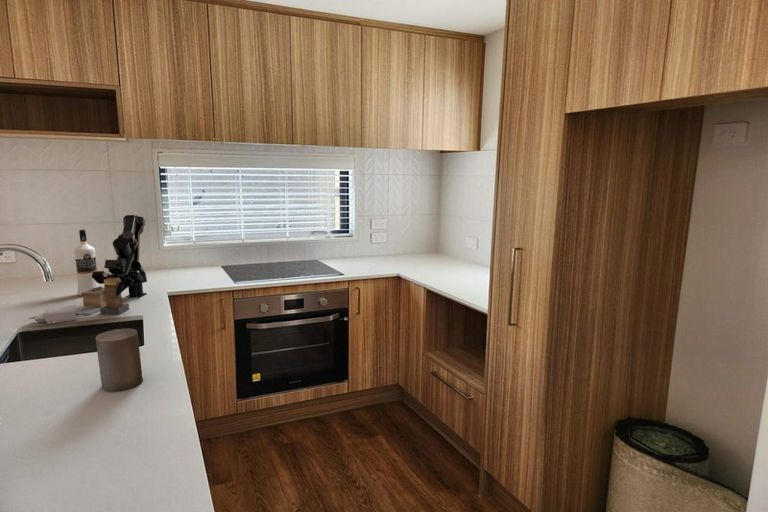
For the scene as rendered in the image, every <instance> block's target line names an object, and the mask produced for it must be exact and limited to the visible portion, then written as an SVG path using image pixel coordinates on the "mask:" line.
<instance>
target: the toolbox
mask: <svg viewBox="0 0 768 512" xmlns="http://www.w3.org/2000/svg"><path fill="white" fill-rule="evenodd" d="M80 297H82V302H83V308H102V307H105V306H107V305H106V295H105V287H103V286H100V285H99V287H96V288H93V289H90V290H88V291H85V292H82V293H81V296H80Z"/></svg>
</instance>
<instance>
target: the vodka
mask: <svg viewBox="0 0 768 512" xmlns="http://www.w3.org/2000/svg"><path fill="white" fill-rule="evenodd" d="M78 233H79V234H78V235H79V241H80V242H79V245H78V246H77V247H75V248H74V249H73V254H74V259H75V261H74V262H75V268H76V278H77V291H76V292H77V295H78V296H79V297H82V296H81V293H82V292H85V291H88V290H90V289H93V288H96V287H99V286H100V284H99V283H97V282H96V281H95V280H94V279H93V278H92V277H91V276H92V273H93V272H94V271H98V268H97V259H96V249H95V247H94V246H92V245H90V244H88V241H87V234H86V229H79V230H78Z"/></svg>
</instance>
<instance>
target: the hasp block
mask: <svg viewBox="0 0 768 512" xmlns="http://www.w3.org/2000/svg"><path fill="white" fill-rule="evenodd" d="M129 305H130V304H129V303H122V306H120V307H118V308H107V306H105V307H102V308H100V311H99V312H100V315H102V316H103V315H104V316H110V315H113V316H114V315H115V316H117V315H121V314H124V313H125V312H128V311H129V310H130V306H129Z"/></svg>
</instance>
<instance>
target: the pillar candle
mask: <svg viewBox="0 0 768 512" xmlns="http://www.w3.org/2000/svg"><path fill="white" fill-rule="evenodd" d="M95 343H96V350H97V360H98V366H99V376H100V383H101V388H102V389H103V390H104V391H106V392H113V393H114V392H121V391H125V390H129V389H132V388H134V387H138V386H139V385H141V384H142V383H143V381H144V378H143V370H142V361H141V352H140V343H139V336H138V331H137V329H135V328H119V329H118V328H116V329H113V330H108V331H105V332H101V333H100V334H97V335H96V337H95Z"/></svg>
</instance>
